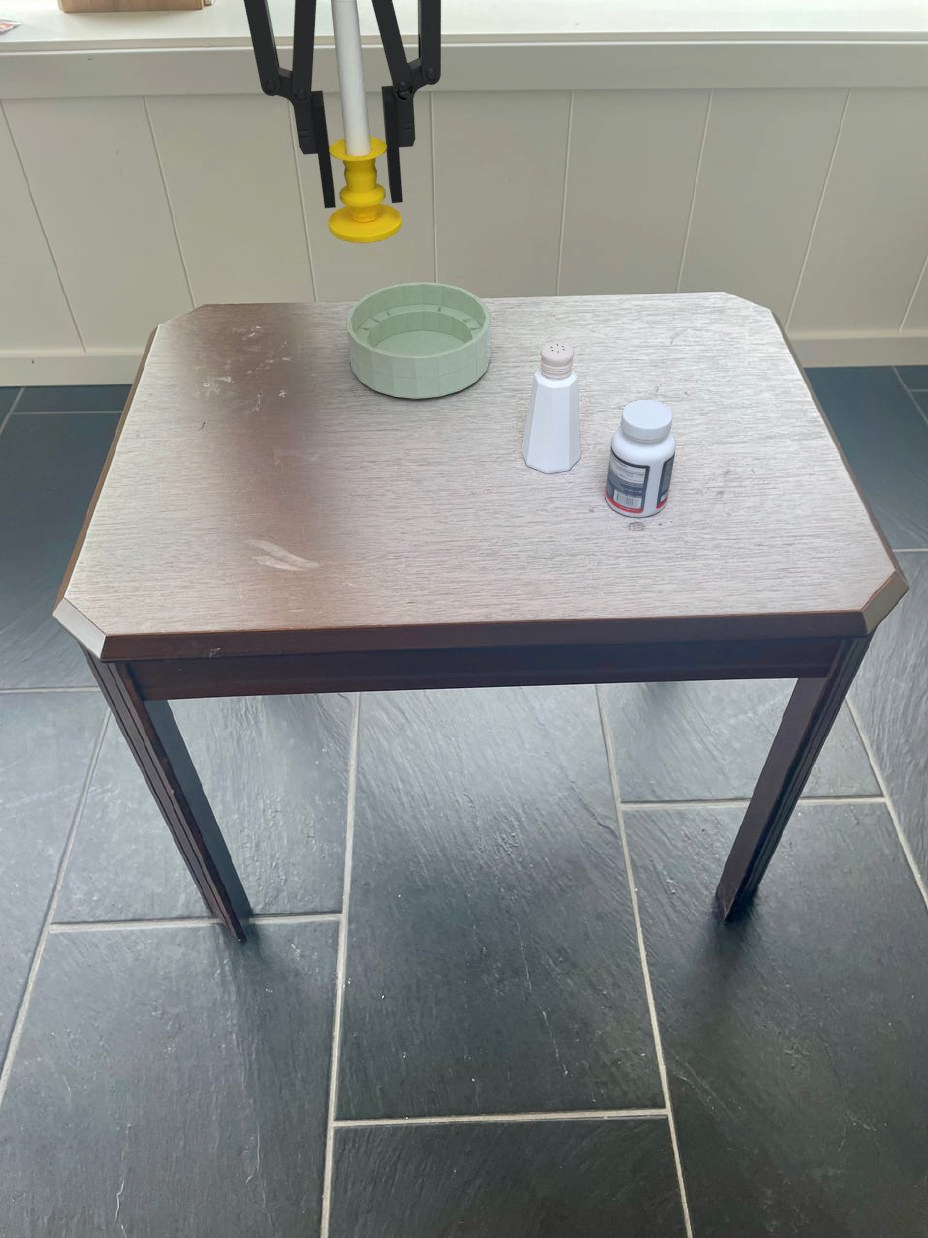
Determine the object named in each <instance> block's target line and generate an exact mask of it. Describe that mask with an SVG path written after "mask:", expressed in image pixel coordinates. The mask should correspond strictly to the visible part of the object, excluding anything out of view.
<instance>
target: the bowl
mask: <svg viewBox="0 0 928 1238" xmlns="http://www.w3.org/2000/svg"><path fill="white" fill-rule="evenodd" d="M345 323H346V332H347V340H348V348H349V349H348V350H349V357H350V358H349V359H350V367H351V371H352V373H354V375H355V376H356V378H357V379H358V380H359V381H360V382H361V383H362V384H363V385H365V386H367V387H368V388H370V389H371V390H373V391H375V392H378V393H381V394H385V395H388V396H392V397H394V398H405V399H417V400H418V399H430V398H440V397H444V396H446V395H451V394H454V393H457V392H460V391H462V390H464V389H466V388H468V387H469V386H471V385H473V384H474V383H476V382H478V381H479V379H481V377H482V376H483V375H484V374H485V373H486V372H487V371H488V368H489V365H490V362H491V346H492V345H491V343H492V342H491V339H492V338H491V336H492V335H491V333H492V331H491V330H492V329H491V328H492V327H491V326H492V317H491V314H490V311H489V307H488V305H487V304H486V303H485V302H483V300H482V299H481V298H480V297H479V296H478V295H476V294H474V293H472V292H470V291H469V290H467V289H464V288H462V287H459V286H455V285H451V284H448V283H447V284H446V283H441V282H429V281H414V282H404V283H403V282H402V283H397V284H393V285H390V286H385V287H381V288H379V289H376V290H375V291H373V292H370V293H368V294H366V295H364V296H362V297H361V298H360V299H359V300H358V301H357V302H356V303H354V304H353V305H352V306H351V307H350V310H349V312H348V313H347V316H346V318H345Z"/></svg>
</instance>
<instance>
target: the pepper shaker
mask: <svg viewBox="0 0 928 1238" xmlns="http://www.w3.org/2000/svg"><path fill="white" fill-rule="evenodd" d="M539 353H540V368H539V369H538V370H536V371H535V373H533V378H532V382H531V387H530V393H529V401H528V407H527V413H526V419H525V426H524V431H523V432H524V433H523V439H522V444H521V450H520V451H521V454H522V457H523V459H524V462H525V465H526V466H527V467H529V468H531V469H534V470H536V471H539V472H541V473H544V474H546V475H549V474H555V473H556V474H557V473H563V472H569V471H570V470H571V469H572V468H573V467H574V466H575V465H576V463H578V461H579V460H580V459H581V458H582V456H581V455H582V454H581V453H582V451H581V448H582V447H581V423H580V422H581V421H580V420H581V419H580V393H579V378H578V375H577V374H576V372H575V369H574V368H573V365H574V356H575V349H574V347H573V346H572V345H571V344H570V343H568V342H565V341H561V340H553V341H549V342H546V343H544V344H543V345H542V346H541V348H540V351H539Z"/></svg>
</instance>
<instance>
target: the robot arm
mask: <svg viewBox="0 0 928 1238" xmlns="http://www.w3.org/2000/svg"><path fill="white" fill-rule="evenodd" d="M370 2H371V4H372V8H373V12H374V16H375V21H376V24H377V28H378V31H379V36H380V39H381V43H382V48H383V51H384V56H385V59H386V63H387V68H388V70H389V73H390V78H391V84H392V85H382V86H381V98H382V99H381V101H382V113H383V114H382V115H383V124H384V125H383V126H384V138H385V143H386V145H387V150H386V152H385V153H386V163H387V175H388V187H389V194H390V200H391V204H398V203H401V204H402V203H403V202H404V198H403V185H402V169H401V168H402V167H401V156H400V148H412V147H414V144H415V142H416V123H415V105H414V99H415V98H414V97H415V95H416V93H417V92H418V91H419V90H420V89H421V88H423V87H426V86H428V85H429V86H434V85H436V84H437V83H438V82H439V81H440V79H441V76H442V0H417V58H414V59H413V60H410V61H409V62H408V60H407V55H406V51H405V47H404V42H403V38H402V36H401V32H400V27H399V22H398V19H397V15H396V10H395V6H394V2H393V0H371V1H370ZM243 4H244V9H245V14H246V19H247V24H248V29H249V33H250V39H251V44H252V49H253V54H254V58H255V64H256V69H257V73H258V78H259V83H260V87H261V90H262V92H263V93H264V94H265V95H267V96H269V97H275V96H278V97H281V98H285V99H286V100H288V101H289V102H290V104H291V105H292V107H293V111H294V112H293V113H294V121H295V127H296V131H297V132H296V133H297V140H298V147H299V149H300V151H301V154H302V155H304V156H306V155H317V158H318V159H317V160H318V166H319V175H320V182H321V191H322V198H323V205H324V209H333V208H334V209H335V208H336V207H337V204H336V191H335V183H334V175H333V166H332V157H331V154H330V152H329V147H330V140H329V132H328V124H327V116H326V107H325V100H324V92H323V91H324V90H323V89H322V90H321V89H320V90H312V88H313V87H312V85H313V72H314V71H313V70H314V69H313V68H314V53H315V52H314V51H315V35H316V34H315V33H316V15H317V0H294V13H293V14H294V15H293V37H292V61H291V62H292V63H291V70H290V69H287V68H284V67H281V65H280V59H279V55H278V49H277V43H276V39H275V34H274V29H273V23H272V17H271V13H270V8H269V2H268V0H243Z"/></svg>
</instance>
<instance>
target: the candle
mask: <svg viewBox="0 0 928 1238" xmlns="http://www.w3.org/2000/svg"><path fill="white" fill-rule="evenodd" d="M330 3H331V4H330V5H331V7H330V9H331V17H332V26H333V37H334V38H333V39H334V47H335V58H336V67H337V77H338V88H339V98H340V108H341V119H342V127H343V138H340V139H338V140H336V141H334V142H333V143H332V144H330V145H329V152H330V156H332V157H333V158H335V159H338V160H341V161H342V164H343V167H344V170H343V176H344V180H345V184H346V185H345V186H343V187H341V188H340V190H339V192H338V193H339V194H338V195H339V196H338V197H339V200H340V202H341V203H342V204H343V205H345V206H342V207H340V208H337V209H336V210H335V211H334V212H332V214H331V215H330V216H329V218H328V221H327V225H328V230H329V233H330V234H331V235H333V236H334V237H335V238H337V239H338V240H341V241H344V242H348V243H355V244H371V243H376V242H380V241H384V240H387V239H389V238H391V237H393V236H395V235H396V234H397V233H398V232H400V230H401V228H402V226H403V217H402V216H403V215H402V214H401V212H400V211H399V210H397V208H395V207H393V206H391V205H388V204H386V203H385V204H384V203H382V202H384V201H385V199H386V196H387V195H386V193H387V192H386V188H385V187H384V186H383V185H382V184H380V183H377V180H378V179H377V177H378V170H377V167H376V162H377V161H376V160H377V158H378V157H380V156H383V154H385V153H387V152H386V150H387V145H386V141H384V140H382V139H381V138H378V137H374V136H371V133H370V131H371V130H370V123H369V112H368V111H369V110H368V101H367V100H368V99H367V89H366V80H365V69H364V60H363V59H364V58H363V49H362V37H361V27H360V17H359V16H360V15H359V8H358V1H357V0H330Z"/></svg>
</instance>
